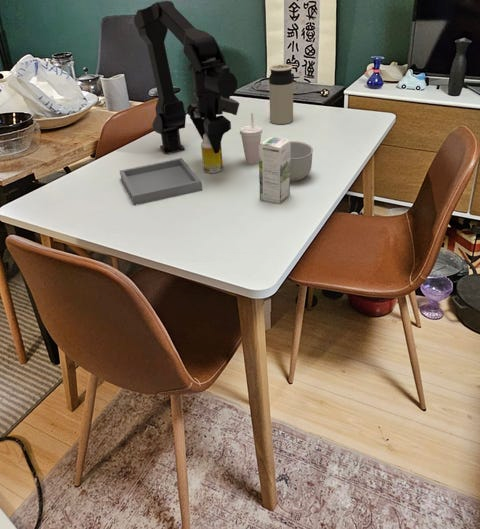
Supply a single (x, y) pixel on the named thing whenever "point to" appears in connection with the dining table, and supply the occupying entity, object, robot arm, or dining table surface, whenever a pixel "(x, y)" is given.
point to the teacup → (300, 160)
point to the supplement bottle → (211, 157)
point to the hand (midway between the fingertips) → (211, 147)
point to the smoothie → (251, 141)
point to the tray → (160, 181)
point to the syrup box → (274, 169)
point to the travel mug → (281, 94)
